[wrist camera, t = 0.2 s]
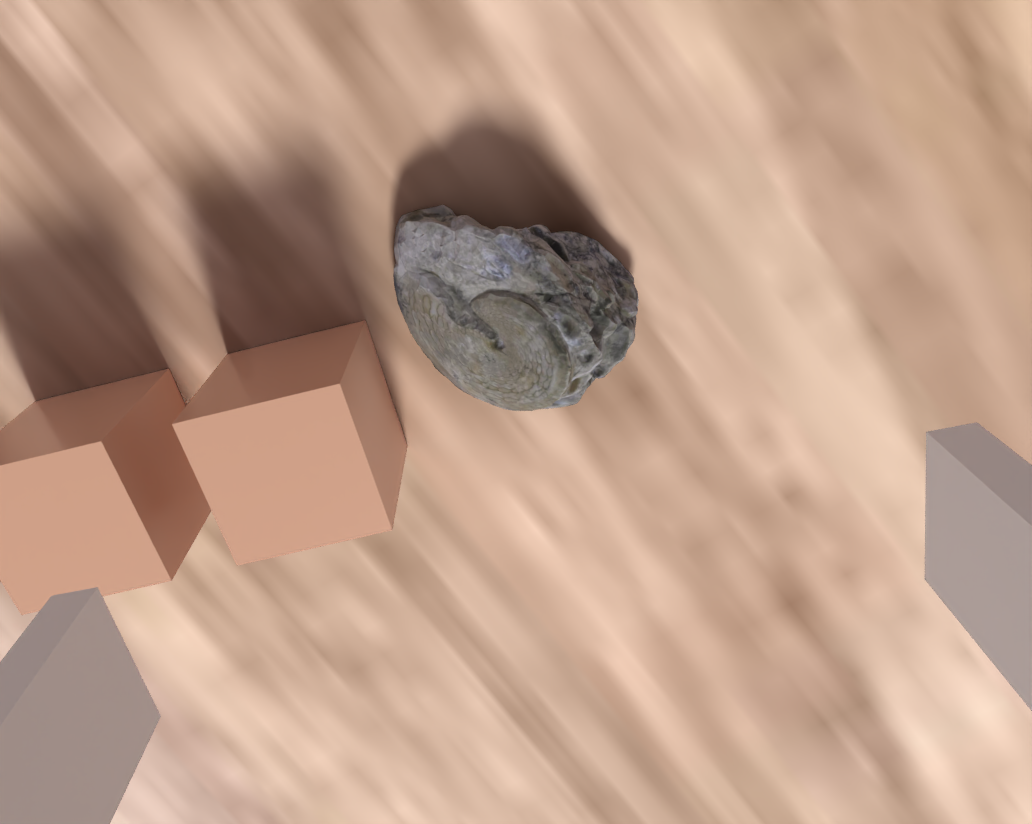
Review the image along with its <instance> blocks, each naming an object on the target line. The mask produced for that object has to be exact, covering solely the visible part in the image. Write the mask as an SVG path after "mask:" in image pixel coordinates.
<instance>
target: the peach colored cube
mask: <svg viewBox="0 0 1032 824" xmlns="http://www.w3.org/2000/svg"><path fill="white" fill-rule="evenodd" d="M172 426H173V428H174V430H175V432H176V434H177V437H178V439H179V441H180V443H181V445H182V447H183V450H184V452H185V454H186V456H187V458H188V461H189V463H190V465H191V467H192V469H193V471H194V474H195V476H196V478H197V480H198V482H199V484H200V487H201V489H202V491H203V493H204V495H205V497H206V500H207V502H208V504H209V506H210V508H211V510H212V513H213V515H214V517H215V519H216V521H217V523H218V526H219V528H220V530H221V532H222V534H223V537H224V539H225V541H226V543H227V545H228V547H229V550H230V552H231V554H232V556H233V558H234V560H235V563H236V565H237V566H238V565H242V564H246V563H251V562H255V561H259V560H264V559H268V558H273V557H277V556H281V555H286V554H290V553H294V552H299V551H303V550H308V549H312V548H316V547H321V546H325V545H329V544H334V543H338V542H342V541H347V540H351V539H356V538H360V537H364V536H369V535H373V534H377V533H382V532H386V531H391V530H392V529H393V523H394V518H395V512H396V507H397V501H398V496H399V490H400V485H401V479H402V474H403V468H404V463H405V457H406V452H407V443H406V440H405V437H404V434H403V431H402V428H401V425H400V422H399V419H398V416H397V413H396V410H395V407H394V404H393V401H392V398H391V395H390V392H389V389H388V386H387V383H386V380H385V377H384V374H383V371H382V368H381V365H380V362H379V359H378V356H377V353H376V350H375V347H374V344H373V341H372V338H371V335H370V332H369V329H368V326H367V323H366V320H364V321H360V322H356V323H352V324H348V325H344V326H339V327H335V328H331V329H327V330H323V331H319V332H315V333H311V334H307V335H303V336H299V337H295V338H291V339H287V340H283V341H279V342H275V343H270V344H266V345H262V346H258V347H254V348H250V349H246V350H242V351H238V352H234V353H230V354H227V355H226V356H225V358H224V359H223V360H222V361H221V363H220V364H219V365H218V366H217V368H216V369H215V370H214V372H213V373H212V374H211V375H210V377H209V378H208V379H207V380H206V382H205V383H204V384H203V385H202V387H201V388H200V389H199V390H198V392H197V393H196V394H195V395H194V397H193V398H192V399H191V401H190V402H189V403H188V404H187V406H186V407H185V408H184V409H183V411H182V412H181V413H180V414H179V416H178V417H177V418H176V419H175V421H174V422H173V423H172Z"/></svg>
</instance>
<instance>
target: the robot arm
mask: <svg viewBox="0 0 1032 824" xmlns="http://www.w3.org/2000/svg"><path fill="white" fill-rule="evenodd" d="M925 580H926V582H927V583H928V584H929V585H930V586H931V588H932V589H933V590H934V591H935V593H936V594H937V595H938V596H939V598H940V599H941V600H942V601H943V602H944V604H945V605H946V606H947V607H948V609H949V610H950V611H951V612H952V613H953V615H954V616H955V617H956V618H957V620H958V621H959V622H960V623H961V625H962V626H963V627H964V628H965V629H966V631H967V632H968V633H969V634H970V636H971V637H972V638H973V639H974V641H975V642H976V643H977V644H978V645H979V647H980V648H981V649H982V650H983V652H984V653H985V654H986V655H987V657H988V658H989V659H990V660H991V661H992V663H993V664H994V665H995V666H996V668H997V669H998V670H999V671H1000V673H1001V674H1002V675H1003V676H1004V677H1005V679H1006V680H1007V681H1008V682H1009V684H1010V685H1011V686H1012V687H1013V689H1014V690H1015V691H1016V692H1017V693H1018V695H1019V696H1020V697H1021V698H1022V700H1023V701H1024V702H1025V703H1026V705H1027V706H1028V707H1029V708H1030V709H1031V711H1032V465H1031V464H1029V463H1028V462H1027V461H1026V460H1024V459H1023V458H1022V457H1021V456H1019V455H1018V454H1017V453H1015V452H1014V451H1013V450H1012V449H1010V448H1009V447H1008V446H1006V445H1005V444H1004V443H1003V442H1001V441H1000V440H999V439H998V438H996V437H995V436H994V435H992V434H991V433H990V432H989V431H987V430H986V429H985V428H983V427H982V426H981V425H980V424H978V423H972V424H966V425H961V426H955V427H950V428H945V429H939V430H934V431H929V432H926V505H925ZM160 717H161V716H160V714H159V711H158V709H157V707H156V705H155V703H154V701H153V699H152V697H151V695H150V693H149V691H148V689H147V687H146V685H145V683H144V681H143V679H142V677H141V675H140V673H139V671H138V669H137V667H136V665H135V662H134V660H133V658H132V656H131V654H130V652H129V650H128V648H127V646H126V644H125V642H124V640H123V638H122V636H121V634H120V632H119V630H118V628H117V626H116V624H115V622H114V620H113V618H112V616H111V614H110V611H109V609H108V607H107V605H106V603H105V601H104V599H103V597H102V595H101V593H100V591H99V589H98V587H95V588H90V589H85V590H79V591H74V592H69V593H63V594H58V595H53V596H51V597H50V598H49V600H48V601H47V602H46V604H45V605H44V606H43V607H42V609H41V610H40V611H39V613H38V614H37V615H36V616H35V618H34V619H33V620H32V622H31V623H30V624H29V626H28V627H27V628H26V629H25V631H24V632H23V633H22V635H21V636H20V637H19V639H18V640H17V641H16V642H15V644H14V645H13V646H12V648H11V649H10V650H9V652H8V653H7V654H6V655H5V657H4V658H3V659H2V661H1V662H0V824H110V822H111V820H112V818H113V816H114V814H115V812H116V810H117V807H118V805H119V803H120V801H121V799H122V797H123V795H124V793H125V791H126V788H127V786H128V784H129V782H130V780H131V778H132V776H133V774H134V772H135V769H136V767H137V765H138V763H139V761H140V759H141V757H142V755H143V753H144V751H145V748H146V746H147V744H148V742H149V740H150V738H151V736H152V734H153V732H154V729H155V727H156V725H157V723H158V721H159V719H160Z"/></svg>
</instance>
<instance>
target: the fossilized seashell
mask: <svg viewBox="0 0 1032 824" xmlns="http://www.w3.org/2000/svg"><path fill="white" fill-rule="evenodd" d="M394 253H395V259H396V265H395V268H394V286H395V291H396V295H397V301H398V304H399V307H400V310H401V312H402V314H403V316H404V319H405V321H406V323H407V325H408V327H409V330H410V332H411V334H412V336H413V337H414V339H415V341H416V342H417V344H418V345H419V346H420V347H421V349H422V350H423V352H424V353H425V355H426V356H427V357H428V358H429V359H430V360H431V361H432V363H433V365H434V367H435V368H436V369H437V370H438V371H439V372H440V373H441V374H442V375H444V376H446V377H447V378H448V379H449V380H450V381H451V382H452V383H453V384H454V385H455V386H456V387H458V388H459V389H460V390H462V391H464V392H465V393H467V394H469V395H471V396H473V397H475V398H477V399H480V400H482V401H485V402H487V403H490V404H492V405H495V406H497V407H500V408H503V409H507V410H514V411H532V410H536V409H548V408H557V407H565V406H570V405H574V404H577V403H578V402H579V400H580V399H581V397H582V395H583V394H584V392H585V391H586V389H587V388H588V387H589V386H590V385H591V383H592V382H593V381H594V380H595V379H596V378H602V377H605V376H606V375H607V374H608V373H609V372H610V371H611V369H612V368H613V366H615V365H616V364H618V363H619V362H621V361H622V360H623V359H624V357H625V355H626V352H627V350H628V348H629V347H630V345H631V344H632V343H633V341H634V337H635V325H636V314H637V311H638V308H637V306H638V293H637V290H636V288H635V285H634V278H633V276H632V275H631V274H630V273H629V271H628V270H626V269H625V268H624V266H623V265H622V264H621V262H620V261H619V260H617V259H616V258H615V257H614V256H613V255H612V254H611V253H610V252H609V251H608V250H606V249H605V248H604V247H603V246H602V245H601V244H600V243H599V242H598V241H596V240H594V239H592V238H589V237H587V236H584V235H582V234H580V233H577V232H571V231H559V232H556V233H551V232H550V231H549V229H548V228H547V227H546V226H543V225H533V226H531V227H529V228H526V227H525V228H523V229H514V228H513V227H509V226H499V227H497V228H495V229H490V228H488V227H486V226H483V225H481V224H479V223H478V222H477V221H476V220H474V219H473V218H471V217H469V216H468V215H460V216H455V214H454V213H453V211H452V210H451V209H450V208H448V207H446V206H445V205H440V206H436V207H432V208H427V209H421V210H416V211H414V212H410V213H407V214H405V215H402V216H401V217H400V219H399V222H398V224H397V226H396V233H395V243H394Z"/></svg>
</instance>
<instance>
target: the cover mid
mask: <svg viewBox="0 0 1032 824" xmlns="http://www.w3.org/2000/svg"><path fill="white" fill-rule="evenodd" d="M185 407H186V405H185V403H184V401H183V399H182V396H181V394H180V392H179V390H178V387H177V385H176V383H175V381H174V378H173V376H172V374H171V372H170V370H169V369H165V370H161V371H157V372H153V373H149V374H145V375H140V376H136V377H132V378H128V379H124V380H120V381H116V382H112V383H108V384H104V385H100V386H96V387H92V388H88V389H84V390H80V391H76V392H71V393H67V394H63V395H59V396H55V397H51V398H47V399H43V400H39V401H35V402H34V403H33V404H31V405H30V406H29V407H28V408H27V409H25V410H24V411H23V412H22V413H21V414H19V415H18V416H17V417H16V418H14V419H13V420H12V421H11V422H10V423H8V424H7V425H6V426H5V427H4V428H2V429H1V430H0V580H1V582H2V584H3V585H4V587H5V589H6V590H7V592H8V593H9V595H10V597H11V598H12V600H13V602H14V603H15V605H16V607H17V608H18V610H19V612H20V613H21V615H23V614H28V613H32V612H37V611H40V610H41V609H42V607H43V606H44V605H45V604H46V602H47V601H48V600H49V598H50V597H51V596H53V595H58V594H63V593H69V592H74V591H79V590H85V589H90V588H95V587H98V589H99V591H100V593H101V595H102V596H107V595H111V594H115V593H120V592H124V591H128V590H133V589H137V588H141V587H146V586H150V585H155V584H159V583H163V582H168V581H172V579H173V577H174V575H175V574H176V572H177V570H178V568H179V567H180V565H181V563H182V561H183V560H184V558H185V556H186V554H187V552H188V551H189V549H190V547H191V545H192V544H193V542H194V540H195V538H196V537H197V535H198V533H199V531H200V530H201V528H202V526H203V524H204V522H205V521H206V519H207V517H208V515H209V514H210V512H211V508H210V506H209V504H208V502H207V500H206V497H205V495H204V493H203V491H202V489H201V487H200V484H199V482H198V480H197V478H196V476H195V474H194V471H193V469H192V467H191V465H190V463H189V461H188V458H187V456H186V454H185V452H184V450H183V447H182V445H181V443H180V441H179V439H178V437H177V434H176V432H175V430H174V428H173V426H172V423H173V422H174V421H175V419H176V418H177V417H178V416H179V414H180V413H181V412H182V411H183V409H184V408H185Z"/></svg>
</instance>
